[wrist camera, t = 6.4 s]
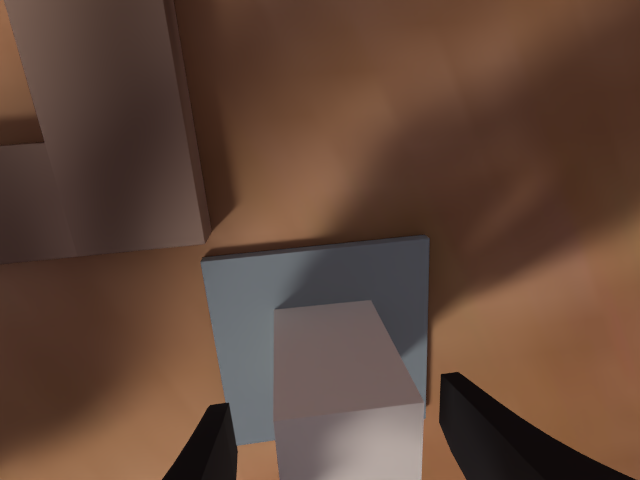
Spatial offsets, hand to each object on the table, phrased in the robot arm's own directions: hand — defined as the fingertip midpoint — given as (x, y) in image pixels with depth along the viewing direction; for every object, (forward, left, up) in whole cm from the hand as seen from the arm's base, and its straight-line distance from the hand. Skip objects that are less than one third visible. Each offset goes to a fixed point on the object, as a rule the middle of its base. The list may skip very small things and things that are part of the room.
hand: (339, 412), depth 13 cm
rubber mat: (0, 0, -4) cm, 4 cm away
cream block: (0, 0, -4) cm, 4 cm away
